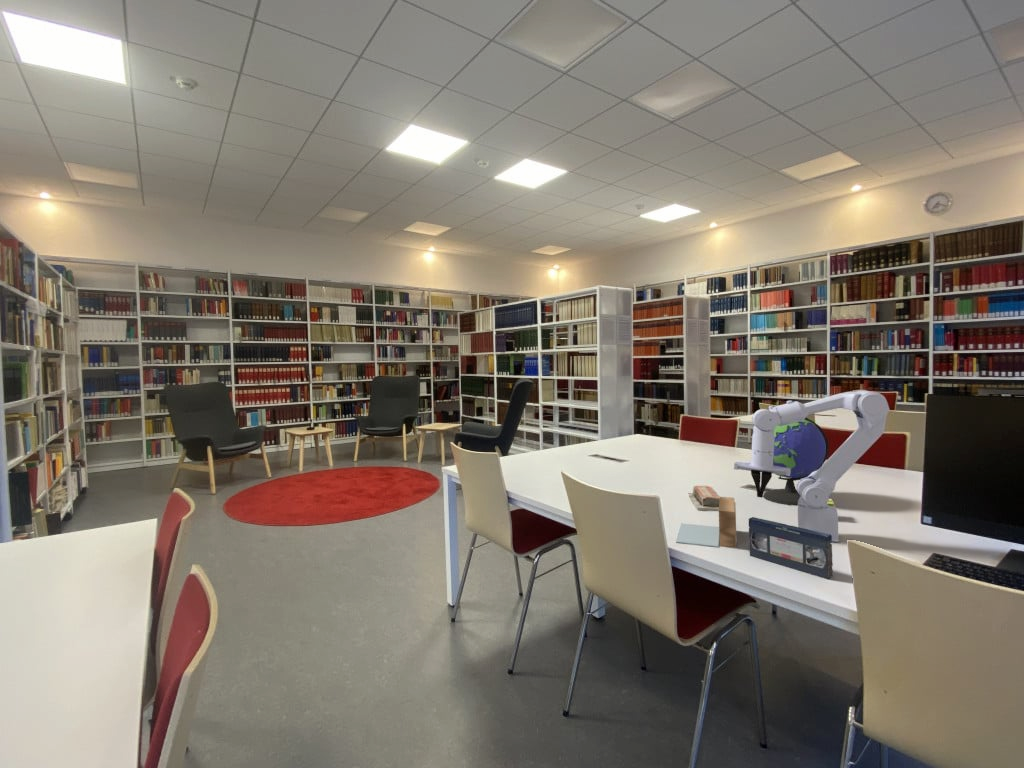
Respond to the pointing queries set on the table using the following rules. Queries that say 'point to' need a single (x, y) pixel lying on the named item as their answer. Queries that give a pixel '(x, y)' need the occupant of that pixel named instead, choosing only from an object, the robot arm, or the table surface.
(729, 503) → the tan wooden block
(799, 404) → the robot arm
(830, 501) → the rubik's cube
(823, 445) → the globe
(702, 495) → the packaged product
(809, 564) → the vhs cassette tape
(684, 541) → the mat
